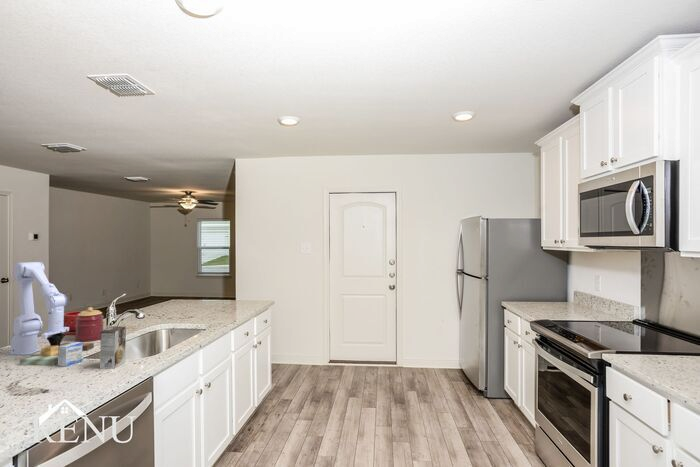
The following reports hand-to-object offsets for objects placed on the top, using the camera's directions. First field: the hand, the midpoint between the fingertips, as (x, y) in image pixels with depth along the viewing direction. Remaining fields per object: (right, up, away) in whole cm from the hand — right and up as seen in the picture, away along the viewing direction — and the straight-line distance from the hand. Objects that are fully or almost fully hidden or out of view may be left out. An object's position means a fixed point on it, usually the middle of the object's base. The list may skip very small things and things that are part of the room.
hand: (55, 350), depth 173 cm
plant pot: (-23, -4, +45) cm, 51 cm away
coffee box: (+33, -4, -10) cm, 35 cm away
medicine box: (+13, -4, -8) cm, 16 cm away
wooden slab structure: (0, -4, +3) cm, 4 cm away
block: (0, -1, -4) cm, 4 cm away
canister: (-7, -4, +32) cm, 33 cm away
